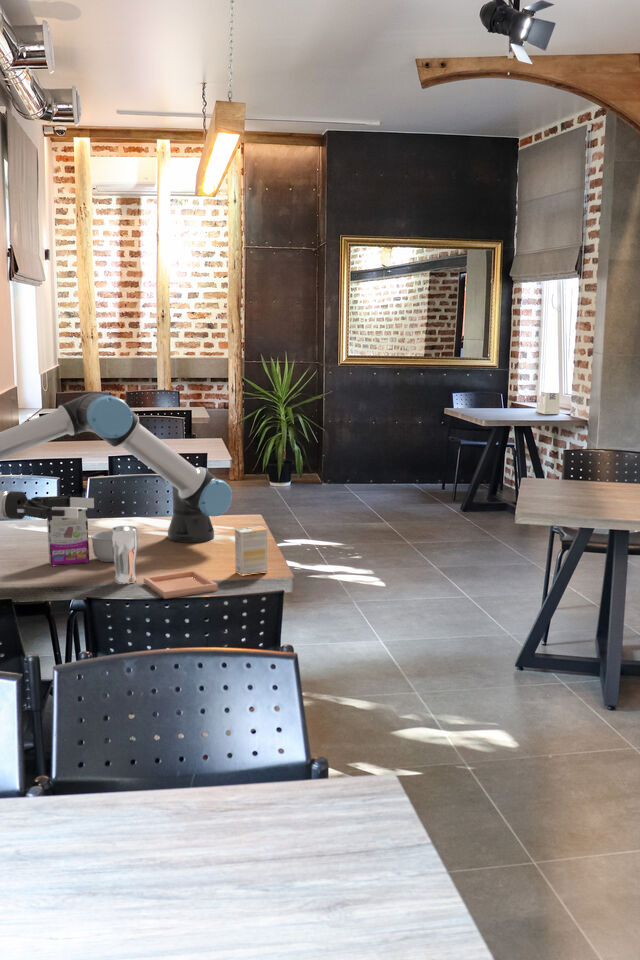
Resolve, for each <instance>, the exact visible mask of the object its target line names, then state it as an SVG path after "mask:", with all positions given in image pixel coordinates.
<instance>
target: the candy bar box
mask: <svg viewBox="0 0 640 960" xmlns="http://www.w3.org/2000/svg"><path fill="white" fill-rule="evenodd" d="M71 508H77V507H71ZM52 510H53V508H52ZM88 523H89V522H88V508H78V518H54V517H53V516H52V520H50V521H49V520H48V517H47V519H46V525H47V544H48V547H47V548H48V561H49V562H50V563H49V565H50V566H51V567H54V566H53V565H62V566H69V565H68V564H72V565H79V564H80V563H82V564H88V563H90V549H89V548H90V545H89V525H88ZM80 565H81V564H80Z"/></svg>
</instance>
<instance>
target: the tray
mask: <svg viewBox="0 0 640 960" xmlns="http://www.w3.org/2000/svg"><path fill="white" fill-rule="evenodd" d="M190 577H191V578H192V577H193V579H191V578H190ZM188 578H189V579H188ZM194 578H195V579H194ZM144 583H145V586H146V587H148V588H149V589H150V590H151V591H153V592H154V593H156V594H157V595H159V596H160V597H162V598H163V599H164V600H165V599H166V600H167V599H172V598H177V597H179V598H180V597H184V596H191V595H196V594H203V593H210V592H217V591H218V583H216V582H215V581H213V580H211V579H209V578H208V577H206V576H205V575H203V574H201V573H199V571H196V570H194V569H193V570H188V571H181V572H173V573H166V574H159V575H152V576H146V577H143V584H144Z"/></svg>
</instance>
